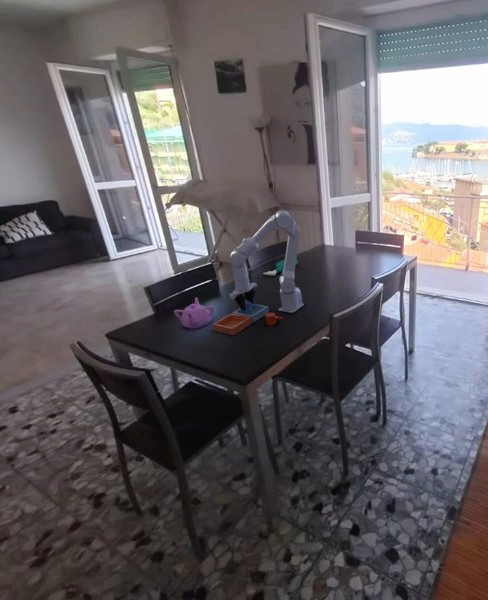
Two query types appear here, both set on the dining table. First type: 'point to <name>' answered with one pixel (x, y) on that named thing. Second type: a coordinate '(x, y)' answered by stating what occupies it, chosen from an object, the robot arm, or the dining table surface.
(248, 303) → the blue measuring cup
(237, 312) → the blue bin
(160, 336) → the dining table surface
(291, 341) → the dining table surface
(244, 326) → the orange tray
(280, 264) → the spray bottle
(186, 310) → the teapot
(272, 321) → the red scoop
